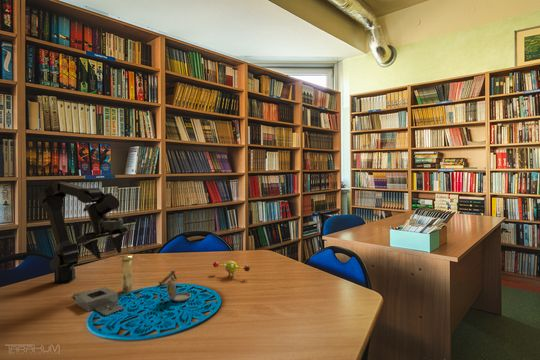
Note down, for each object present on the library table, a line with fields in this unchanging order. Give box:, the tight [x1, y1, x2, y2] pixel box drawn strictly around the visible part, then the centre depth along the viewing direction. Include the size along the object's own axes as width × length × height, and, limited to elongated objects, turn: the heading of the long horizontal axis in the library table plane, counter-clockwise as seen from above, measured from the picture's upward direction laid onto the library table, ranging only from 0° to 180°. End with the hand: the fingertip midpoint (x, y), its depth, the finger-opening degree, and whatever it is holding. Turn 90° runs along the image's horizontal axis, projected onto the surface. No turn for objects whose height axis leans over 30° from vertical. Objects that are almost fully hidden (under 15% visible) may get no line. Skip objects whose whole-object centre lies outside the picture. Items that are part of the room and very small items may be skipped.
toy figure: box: [212, 260, 251, 278], centre depth 136 cm, size 18×6×7 cm, turn 68°
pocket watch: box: [166, 274, 192, 302], centre depth 112 cm, size 8×8×10 cm
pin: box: [119, 254, 134, 293], centre depth 120 cm, size 4×4×14 cm
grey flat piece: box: [72, 286, 125, 317], centre depth 110 cm, size 26×10×3 cm, turn 52°
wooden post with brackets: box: [158, 269, 178, 286], centre depth 129 cm, size 2×8×4 cm, turn 145°
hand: (110, 255), depth 120 cm, fingers open, 9 cm apart
